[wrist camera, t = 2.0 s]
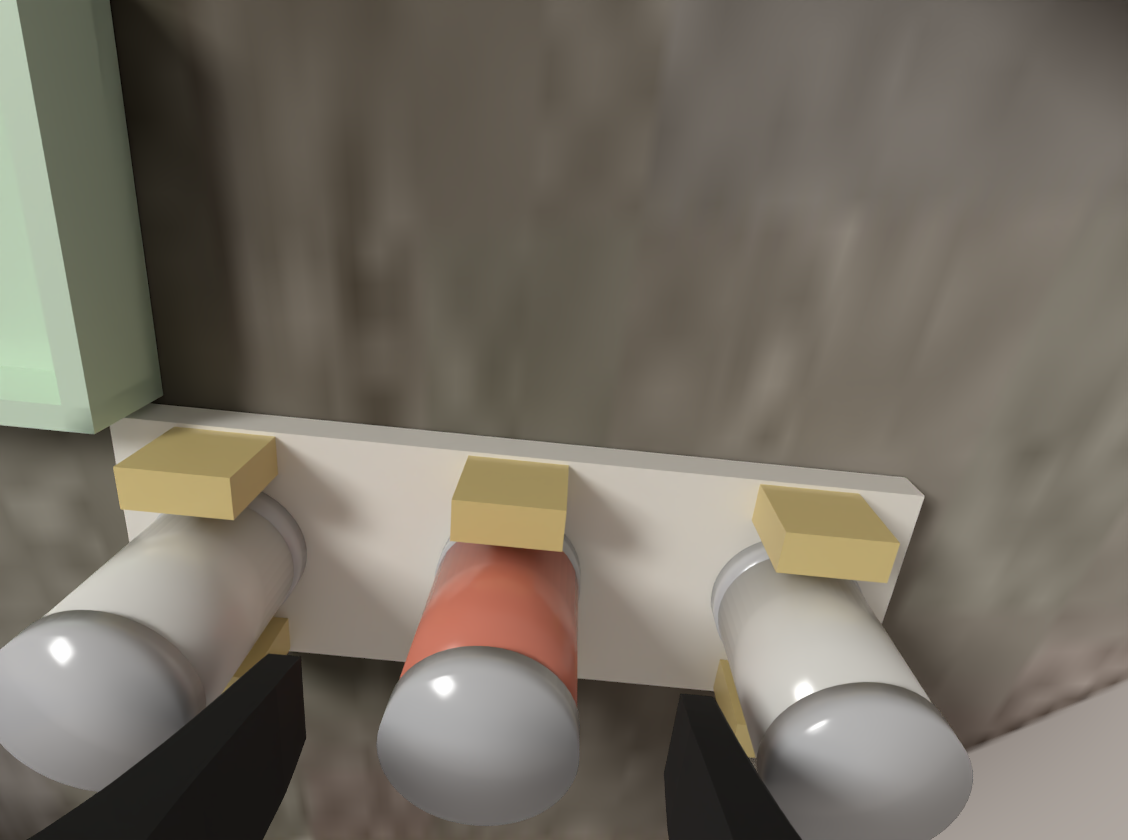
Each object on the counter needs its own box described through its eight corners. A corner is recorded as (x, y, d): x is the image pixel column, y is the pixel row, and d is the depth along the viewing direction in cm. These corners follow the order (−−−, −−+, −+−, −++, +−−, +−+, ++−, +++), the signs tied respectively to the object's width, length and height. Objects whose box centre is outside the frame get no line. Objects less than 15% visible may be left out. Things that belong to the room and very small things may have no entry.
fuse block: (841, 677, 19) (889, 773, 16) (167, 613, 19) (90, 698, 16) (905, 477, 17) (975, 546, 14) (134, 401, 17) (36, 455, 14)
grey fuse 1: (310, 609, 18) (196, 800, 12) (174, 596, 18) (3, 782, 12) (303, 489, 16) (171, 646, 11) (155, 475, 16) (-46, 627, 11)
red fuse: (573, 634, 18) (568, 833, 12) (438, 621, 18) (377, 816, 12) (587, 516, 16) (590, 685, 11) (441, 502, 16) (375, 665, 11)
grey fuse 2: (834, 659, 18) (938, 867, 13) (699, 647, 18) (748, 850, 12) (869, 544, 16) (1001, 723, 11) (724, 530, 16) (789, 702, 11)
